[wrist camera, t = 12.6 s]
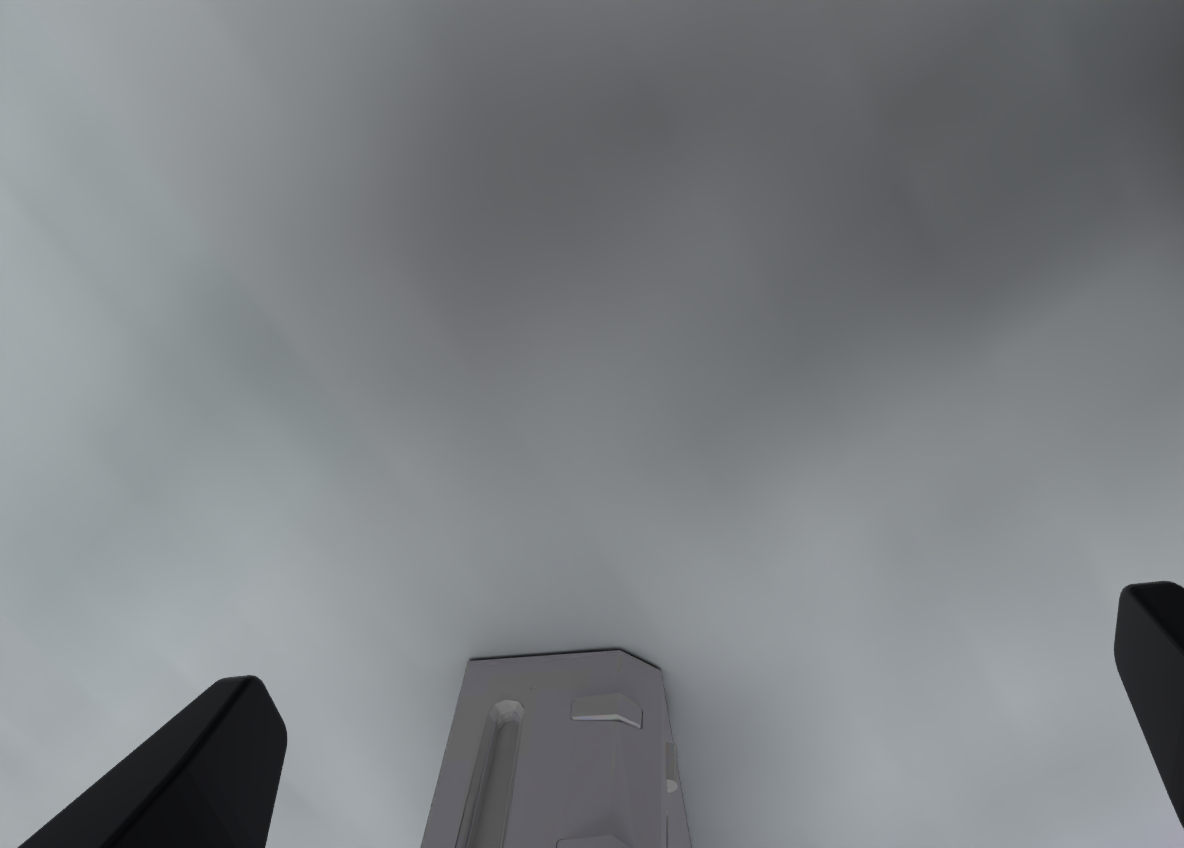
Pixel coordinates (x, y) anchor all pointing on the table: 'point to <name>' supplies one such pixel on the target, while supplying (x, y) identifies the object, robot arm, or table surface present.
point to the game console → (559, 757)
